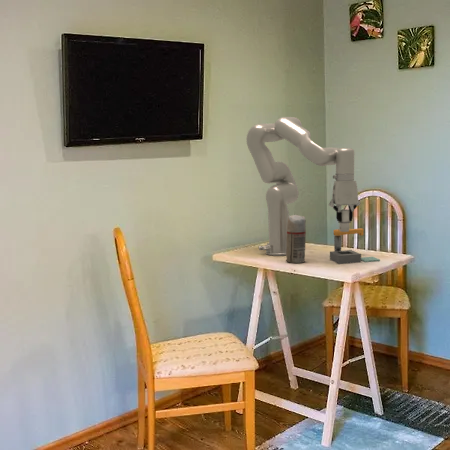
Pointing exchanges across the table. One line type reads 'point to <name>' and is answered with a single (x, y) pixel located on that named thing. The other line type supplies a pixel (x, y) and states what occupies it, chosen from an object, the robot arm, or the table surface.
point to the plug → (344, 221)
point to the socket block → (345, 256)
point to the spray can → (296, 239)
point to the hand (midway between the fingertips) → (344, 220)
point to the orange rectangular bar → (351, 231)
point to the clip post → (337, 243)
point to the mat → (369, 259)
